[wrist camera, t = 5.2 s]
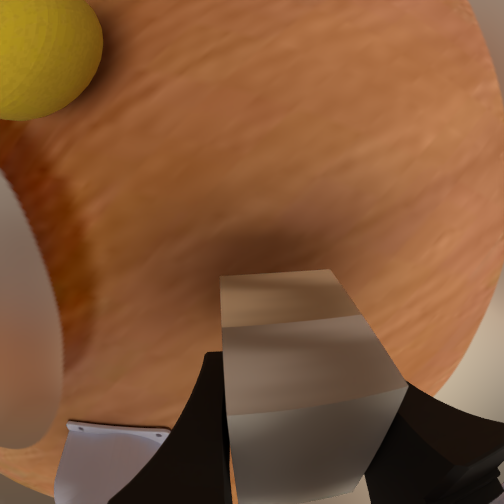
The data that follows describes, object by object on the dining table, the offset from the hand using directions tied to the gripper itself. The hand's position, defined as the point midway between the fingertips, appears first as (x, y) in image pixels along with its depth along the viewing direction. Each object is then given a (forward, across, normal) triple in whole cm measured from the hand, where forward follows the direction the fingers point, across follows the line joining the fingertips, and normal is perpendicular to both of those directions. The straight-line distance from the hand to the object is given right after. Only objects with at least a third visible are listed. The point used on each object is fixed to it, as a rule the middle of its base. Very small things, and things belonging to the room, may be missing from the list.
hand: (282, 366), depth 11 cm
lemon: (+7, +9, -12) cm, 17 cm away
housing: (+2, 0, 0) cm, 2 cm away
